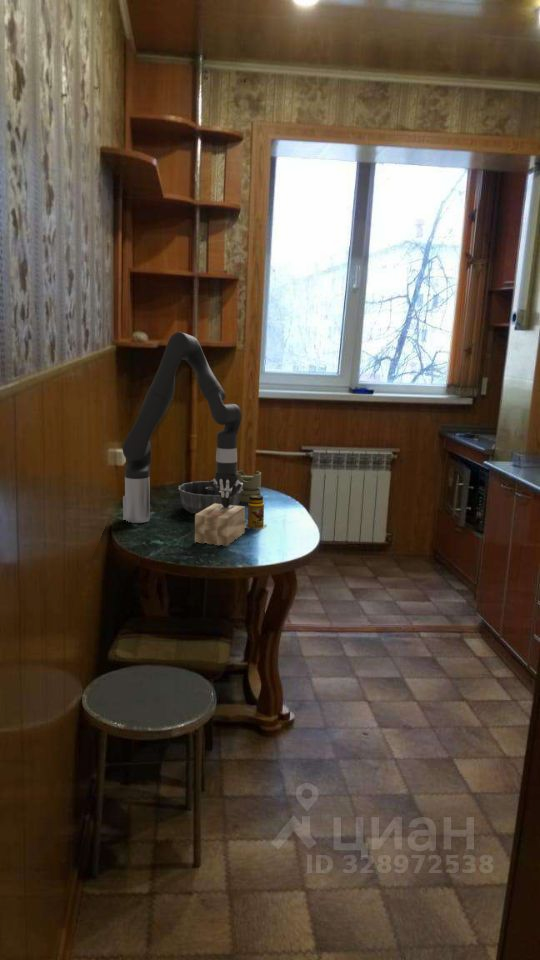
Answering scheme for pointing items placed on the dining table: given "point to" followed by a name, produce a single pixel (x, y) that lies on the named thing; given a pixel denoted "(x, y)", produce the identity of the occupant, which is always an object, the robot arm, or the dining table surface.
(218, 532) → the oak block
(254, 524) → the condiment
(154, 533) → the dining table surface
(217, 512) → the peg terracotta
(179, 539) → the dining table surface
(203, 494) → the bundt pan
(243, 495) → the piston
